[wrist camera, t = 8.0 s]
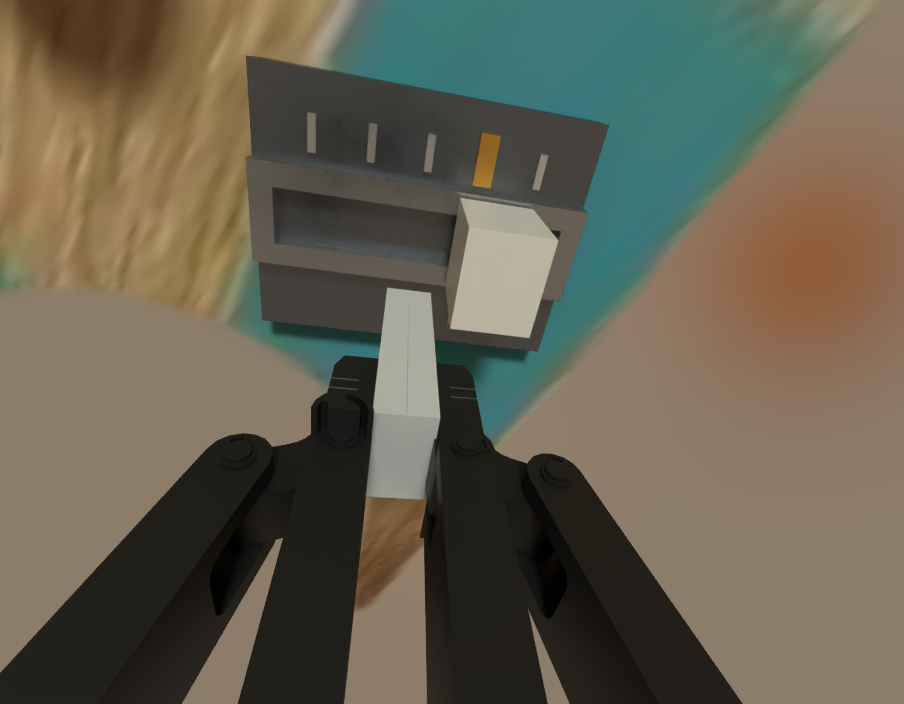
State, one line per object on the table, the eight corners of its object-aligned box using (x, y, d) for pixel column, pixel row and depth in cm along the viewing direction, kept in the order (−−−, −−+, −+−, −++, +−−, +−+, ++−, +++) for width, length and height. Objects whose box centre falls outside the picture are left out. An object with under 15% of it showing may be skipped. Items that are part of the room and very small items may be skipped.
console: (271, 305, 30) (257, 327, 27) (259, 56, 22) (238, 55, 20) (531, 336, 32) (541, 359, 30) (596, 121, 25) (616, 127, 22)
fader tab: (444, 276, 27) (449, 328, 22) (458, 192, 25) (469, 227, 19) (507, 285, 28) (529, 338, 22) (528, 203, 25) (558, 240, 20)
